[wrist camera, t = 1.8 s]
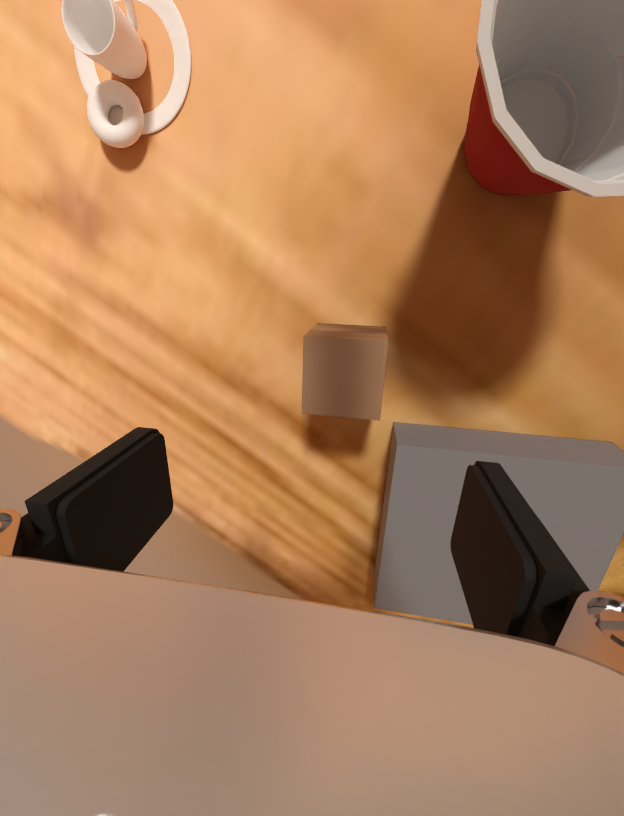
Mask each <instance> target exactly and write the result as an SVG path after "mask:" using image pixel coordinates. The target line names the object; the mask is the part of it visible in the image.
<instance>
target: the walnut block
mask: <svg viewBox="0 0 624 816" xmlns="http://www.w3.org/2000/svg"><path fill="white" fill-rule="evenodd" d="M388 343H389V341H388V337H387V333H386V329H385V327H378V326H359V325H340V324H322V323H318V324H317V325H315V326H314V327H313V328H312V329H311V330H310V331H309V332H308V333H307V334H306V335H304V341H303V386H302V414H312V415H323V416H334V417H345V418H356V419H367V420H378V421H380V414H381V405H382V396H383V387H384V379H385V370H386V361H387V352H388Z"/></svg>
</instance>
